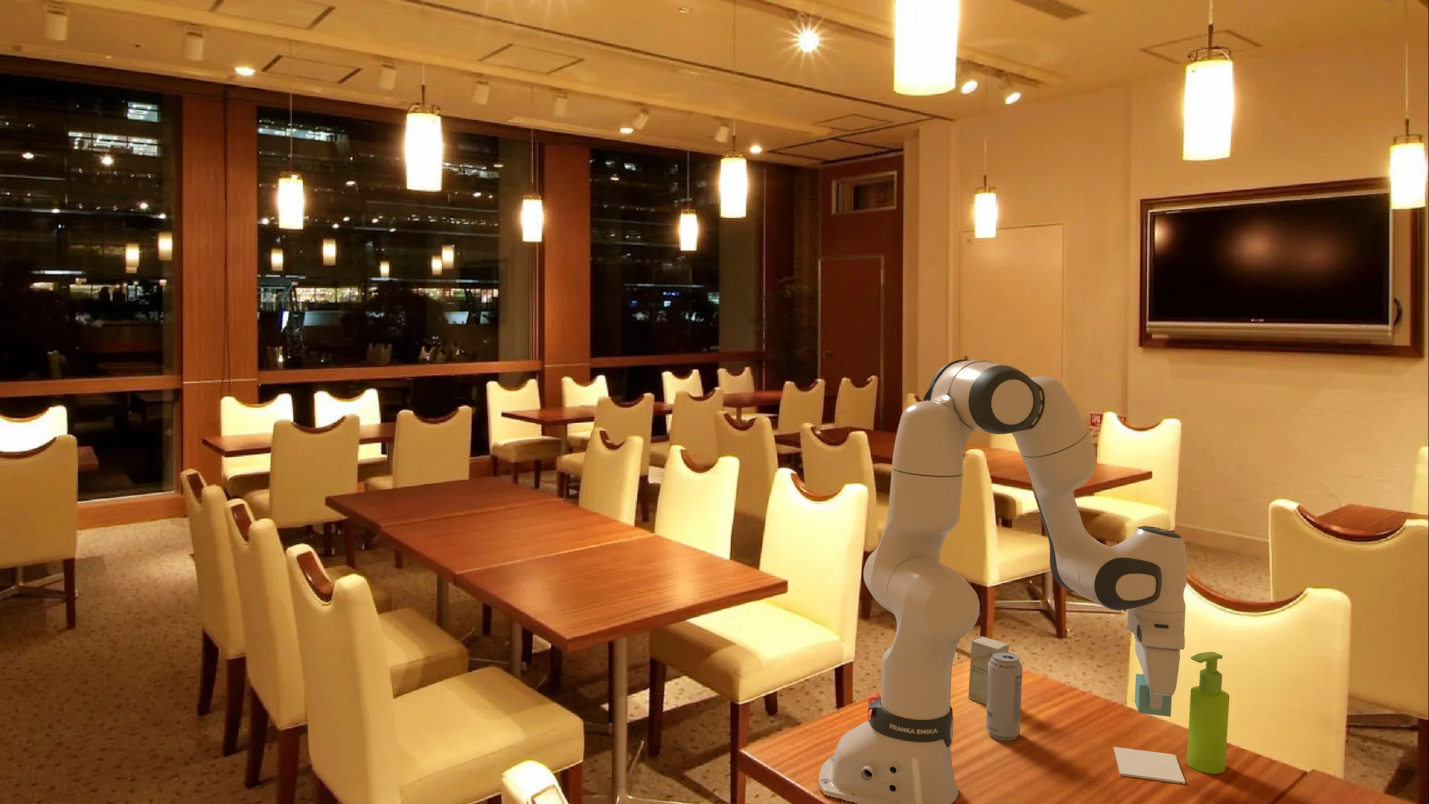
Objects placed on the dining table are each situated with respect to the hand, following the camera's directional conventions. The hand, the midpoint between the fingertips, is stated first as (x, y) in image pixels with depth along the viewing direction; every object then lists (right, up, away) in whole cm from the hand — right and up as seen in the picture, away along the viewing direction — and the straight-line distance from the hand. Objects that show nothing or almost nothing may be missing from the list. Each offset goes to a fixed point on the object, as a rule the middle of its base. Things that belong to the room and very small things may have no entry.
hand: (1152, 699), depth 162 cm
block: (0, -2, 0) cm, 2 cm away
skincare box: (-20, -9, +28) cm, 36 cm away
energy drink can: (-22, -11, +13) cm, 27 cm away
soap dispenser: (+9, -12, +1) cm, 15 cm away
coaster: (0, -12, +1) cm, 12 cm away
